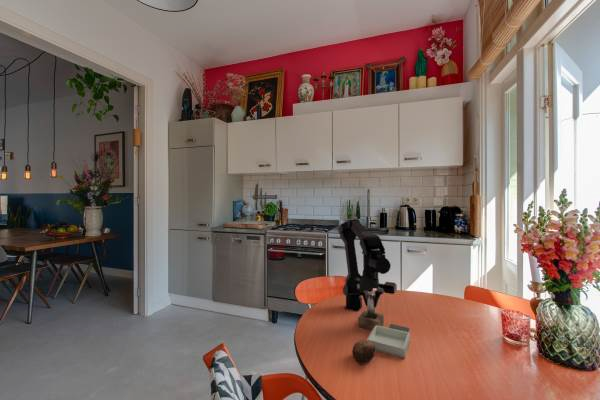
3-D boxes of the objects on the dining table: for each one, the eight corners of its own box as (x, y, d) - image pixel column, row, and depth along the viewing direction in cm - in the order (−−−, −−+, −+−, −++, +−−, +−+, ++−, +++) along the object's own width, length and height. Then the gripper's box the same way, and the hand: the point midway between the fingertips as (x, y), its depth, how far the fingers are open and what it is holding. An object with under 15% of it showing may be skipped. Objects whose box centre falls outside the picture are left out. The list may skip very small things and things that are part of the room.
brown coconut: (382, 346, 86) (371, 331, 85) (381, 369, 79) (369, 354, 78) (360, 351, 90) (350, 338, 89) (358, 374, 83) (346, 359, 82)
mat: (386, 332, 102) (386, 331, 102) (390, 324, 108) (390, 323, 108) (406, 337, 98) (406, 335, 98) (409, 328, 104) (409, 327, 104)
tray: (366, 348, 91) (366, 339, 91) (375, 333, 101) (375, 325, 101) (404, 358, 85) (404, 349, 85) (410, 341, 95) (409, 332, 95)
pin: (366, 317, 106) (366, 294, 106) (368, 314, 109) (368, 292, 109) (373, 319, 105) (373, 296, 105) (375, 316, 108) (375, 293, 108)
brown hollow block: (358, 327, 105) (358, 317, 105) (364, 319, 112) (364, 310, 112) (379, 332, 102) (379, 322, 102) (383, 324, 108) (383, 314, 108)
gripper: (341, 268, 105) (341, 309, 105) (390, 275, 95) (391, 319, 95) (350, 262, 114) (351, 299, 114) (396, 268, 105) (397, 308, 105)
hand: (371, 306), depth 107 cm, fingers closed on pin, 3 cm apart
